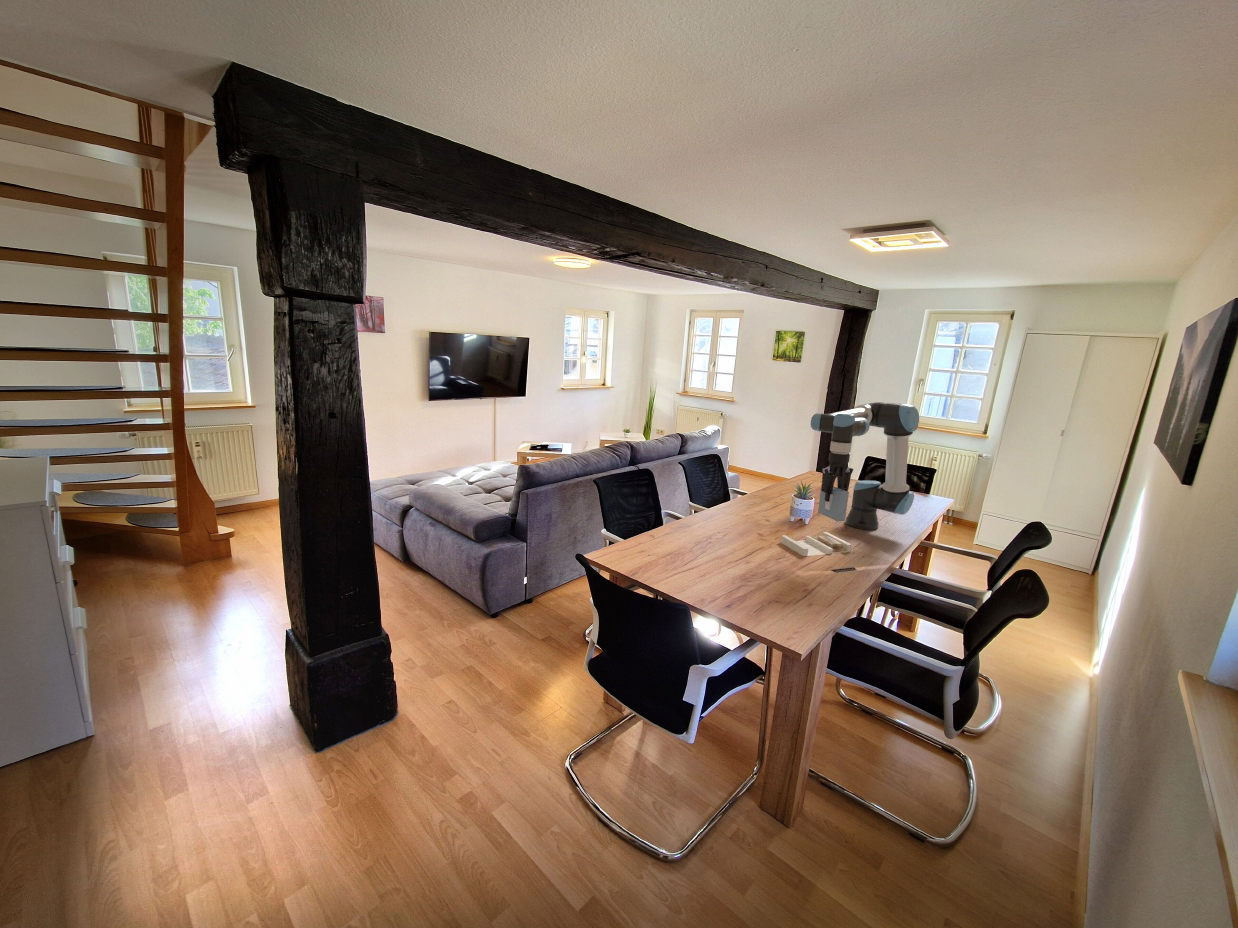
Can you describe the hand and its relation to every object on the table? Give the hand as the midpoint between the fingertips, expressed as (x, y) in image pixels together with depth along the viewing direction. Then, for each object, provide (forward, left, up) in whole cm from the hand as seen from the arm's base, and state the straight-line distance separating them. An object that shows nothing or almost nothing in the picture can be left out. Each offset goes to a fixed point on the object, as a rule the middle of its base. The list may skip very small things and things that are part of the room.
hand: (832, 508), depth 199 cm
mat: (0, +5, -22) cm, 23 cm away
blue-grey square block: (0, 0, -3) cm, 3 cm away
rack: (-3, -11, -22) cm, 25 cm away
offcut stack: (-10, -11, -21) cm, 25 cm away
